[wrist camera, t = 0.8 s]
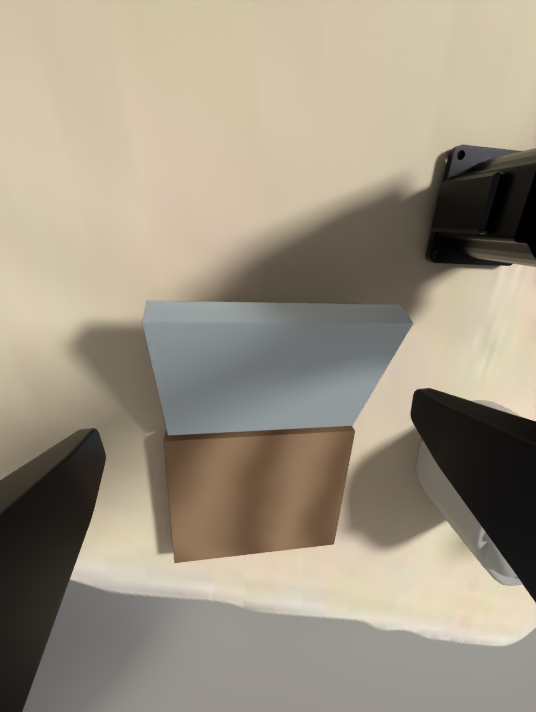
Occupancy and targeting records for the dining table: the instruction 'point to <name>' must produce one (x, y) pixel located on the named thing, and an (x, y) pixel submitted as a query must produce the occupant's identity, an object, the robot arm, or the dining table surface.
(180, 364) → the floor tile
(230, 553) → the walnut floor board
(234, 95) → the dining table surface
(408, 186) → the dining table surface
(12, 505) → the robot arm
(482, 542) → the lumpy-topped squat cylinder
